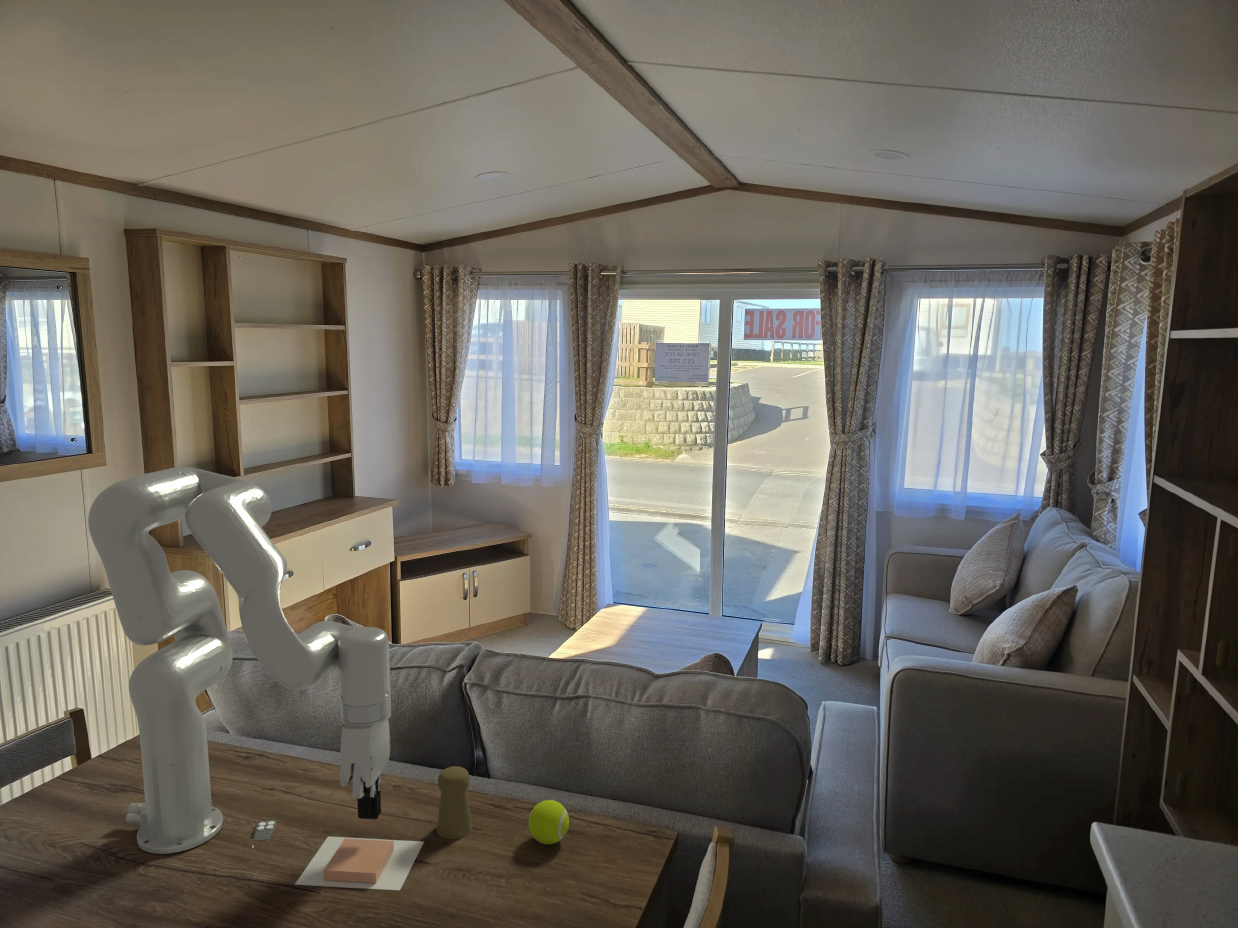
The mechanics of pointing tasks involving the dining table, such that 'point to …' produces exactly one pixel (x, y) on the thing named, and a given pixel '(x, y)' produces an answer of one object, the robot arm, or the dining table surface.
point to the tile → (359, 860)
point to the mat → (388, 880)
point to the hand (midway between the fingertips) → (369, 815)
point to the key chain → (264, 830)
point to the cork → (454, 804)
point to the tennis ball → (548, 822)
